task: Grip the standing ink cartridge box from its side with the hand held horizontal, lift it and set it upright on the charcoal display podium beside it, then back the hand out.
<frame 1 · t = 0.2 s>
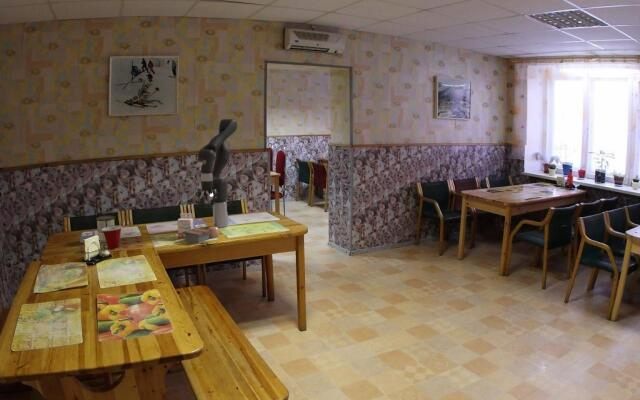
hand: (207, 204, 305), 18 cm above the table, tool pointing down, fingers open, 8 cm apart
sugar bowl: (213, 236, 293), on the table
display podium: (197, 240, 285), on the table
plastic cup: (113, 247, 269), on the table
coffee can: (107, 240, 285), on the table
ink cartridge box: (186, 237, 293), on the table
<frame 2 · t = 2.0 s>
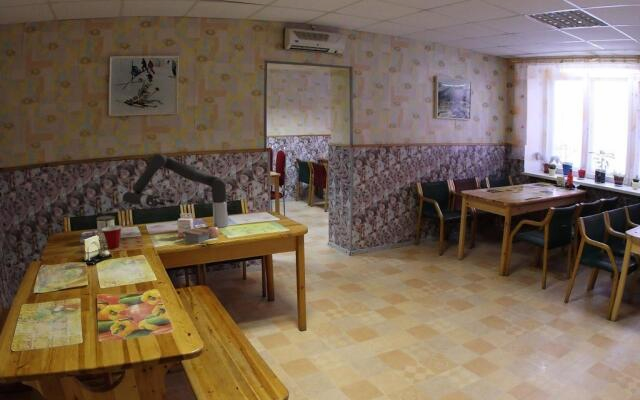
hand: (169, 202, 294), 21 cm above the table, tool horizontal, fingers open, 8 cm apart
nothing on the table moved.
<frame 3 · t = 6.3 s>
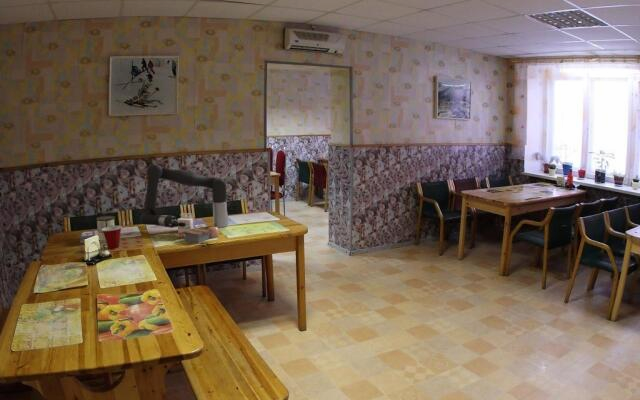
hand: (188, 223, 291), 9 cm above the table, tool horizontal, fingers closed on ink cartridge box, 6 cm apart
ink cartridge box: (186, 236, 293), on the table, touching gripper
everything else where it was.
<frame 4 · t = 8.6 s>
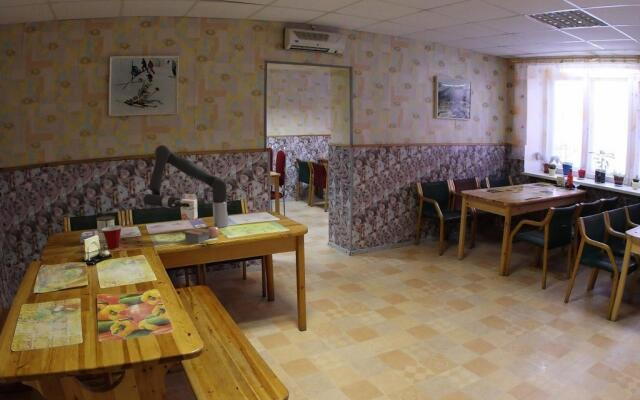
hand: (192, 204, 284), 22 cm above the table, tool horizontal, fingers closed on ink cartridge box, 6 cm apart
ink cartridge box: (189, 218, 286), point 13 cm above the table, touching gripper
everything else where it was.
when the fingers open (16 cm above the table, at t = 11.1 s): ink cartridge box moves 1 cm, resting on display podium.
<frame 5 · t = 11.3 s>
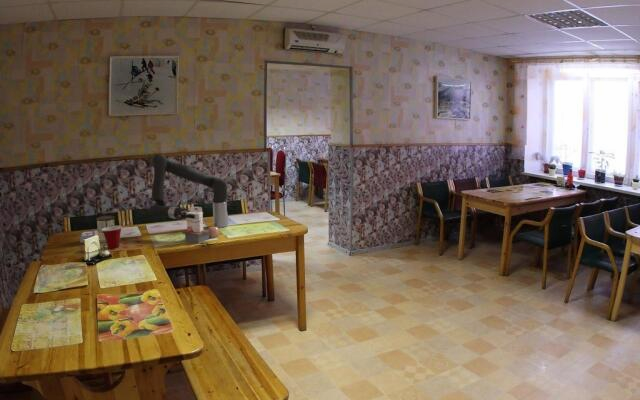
hand: (198, 215, 281), 16 cm above the table, tool horizontal, fingers open, 8 cm apart
ink cartridge box: (195, 231, 283), point 6 cm above the table, touching display podium
everything else where it was.
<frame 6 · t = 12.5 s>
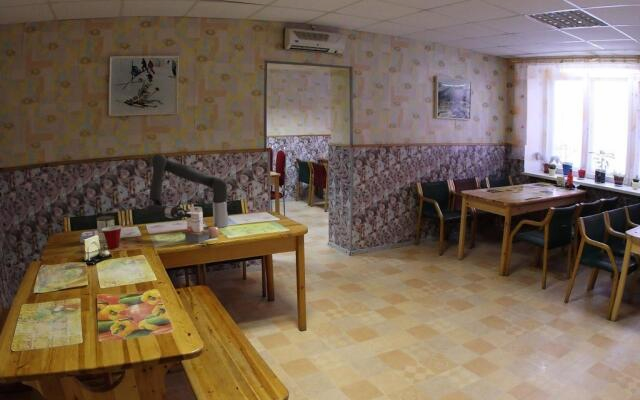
hand: (195, 214, 282), 16 cm above the table, tool horizontal, fingers open, 8 cm apart
ink cartridge box: (195, 231, 283), point 6 cm above the table, touching display podium, gripper
everything else where it was.
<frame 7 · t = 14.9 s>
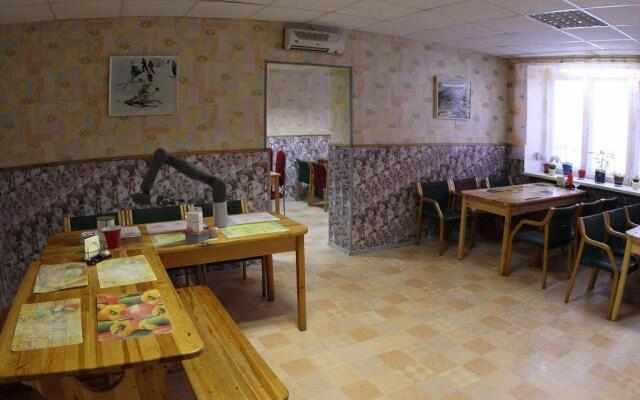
hand: (180, 202, 288), 22 cm above the table, tool horizontal, fingers open, 8 cm apart
ink cartridge box: (195, 231, 283), point 6 cm above the table, touching display podium
everything else where it was.
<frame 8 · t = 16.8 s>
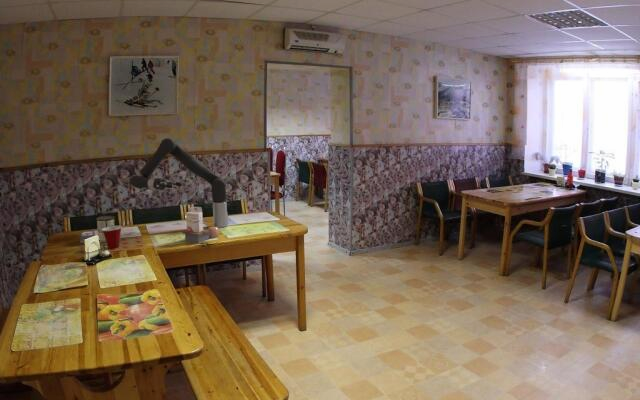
hand: (176, 185, 292), 32 cm above the table, tool horizontal, fingers open, 8 cm apart
nothing on the table moved.
at the end: ink cartridge box inside the target area on the display podium (1.2 cm from its centre), point 5.8 cm above the display podium's base; ink cartridge box tilted 0°; the gripper is holding nothing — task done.
